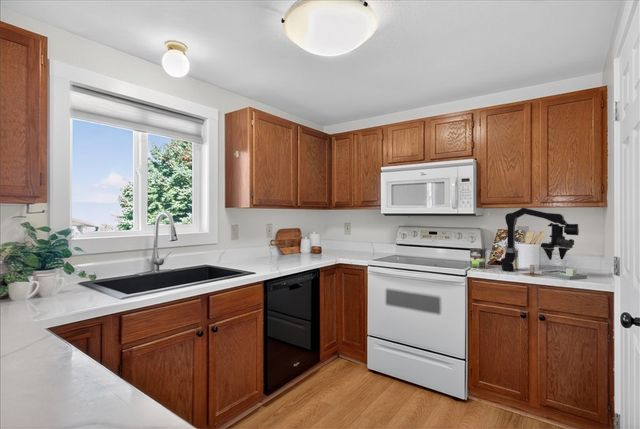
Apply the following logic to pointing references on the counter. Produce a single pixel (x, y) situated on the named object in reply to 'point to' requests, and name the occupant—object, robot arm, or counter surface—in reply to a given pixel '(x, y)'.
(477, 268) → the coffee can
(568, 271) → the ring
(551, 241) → the robot arm
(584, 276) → the tray
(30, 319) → the counter surface
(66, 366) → the counter surface
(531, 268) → the stake stand
